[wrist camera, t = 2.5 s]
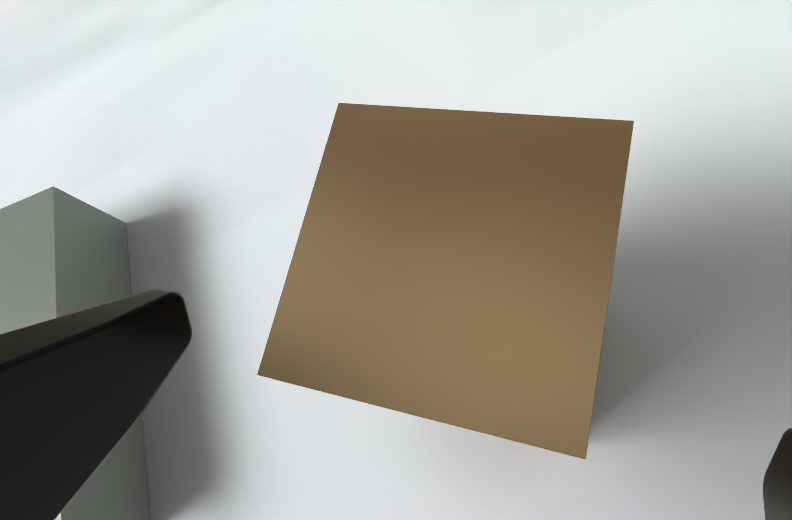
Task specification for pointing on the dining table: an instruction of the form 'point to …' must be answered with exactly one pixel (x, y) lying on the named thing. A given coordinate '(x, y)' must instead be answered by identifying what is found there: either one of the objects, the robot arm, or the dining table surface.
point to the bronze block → (458, 269)
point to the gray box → (67, 293)
